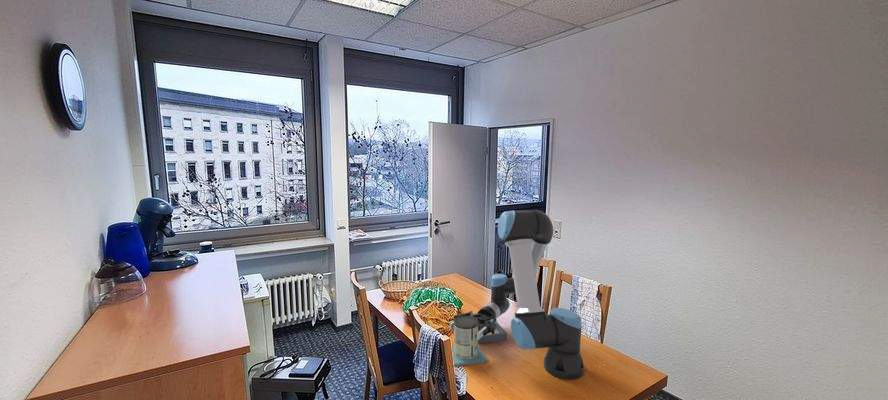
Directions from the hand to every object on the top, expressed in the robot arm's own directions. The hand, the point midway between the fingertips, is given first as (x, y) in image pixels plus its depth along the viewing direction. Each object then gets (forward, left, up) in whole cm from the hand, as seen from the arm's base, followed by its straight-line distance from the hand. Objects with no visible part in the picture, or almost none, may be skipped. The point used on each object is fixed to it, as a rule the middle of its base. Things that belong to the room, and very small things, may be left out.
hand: (463, 331), depth 148 cm
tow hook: (+39, -4, -11) cm, 41 cm away
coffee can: (+1, -1, -10) cm, 10 cm away
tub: (+16, -16, -11) cm, 25 cm away
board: (+1, -1, -11) cm, 11 cm away
